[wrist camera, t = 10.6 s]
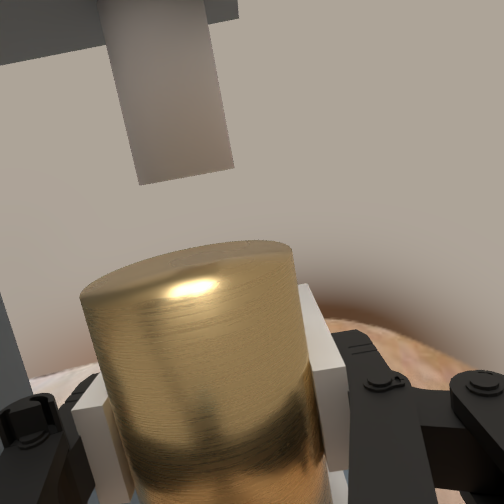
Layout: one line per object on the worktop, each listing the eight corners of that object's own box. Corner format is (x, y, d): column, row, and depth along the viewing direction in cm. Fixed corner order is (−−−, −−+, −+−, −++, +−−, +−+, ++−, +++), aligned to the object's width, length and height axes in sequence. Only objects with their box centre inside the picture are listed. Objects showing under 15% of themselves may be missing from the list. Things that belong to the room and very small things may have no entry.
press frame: (-218, 760, 13) (-1067, -641, 6) (5, 477, 25) (-209, -114, 18) (457, 666, 12) (298, -1033, 6) (355, 421, 24) (265, -218, 17)
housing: (140, 642, 11) (31, 305, 9) (233, 498, 15) (176, 245, 13) (309, 752, 8) (216, 313, 6) (366, 541, 12) (322, 235, 10)
